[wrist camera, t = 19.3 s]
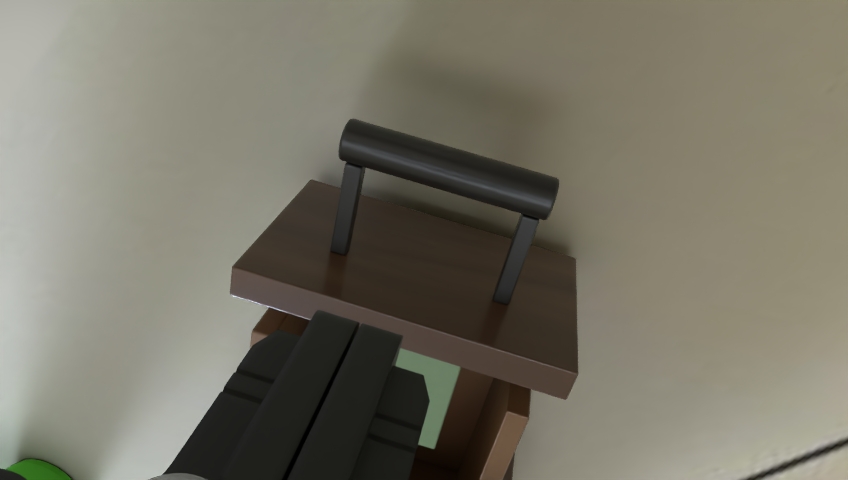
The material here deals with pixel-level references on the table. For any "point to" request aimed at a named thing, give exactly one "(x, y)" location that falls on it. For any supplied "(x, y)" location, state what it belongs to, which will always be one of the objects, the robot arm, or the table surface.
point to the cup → (38, 470)
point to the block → (432, 390)
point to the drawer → (430, 286)
